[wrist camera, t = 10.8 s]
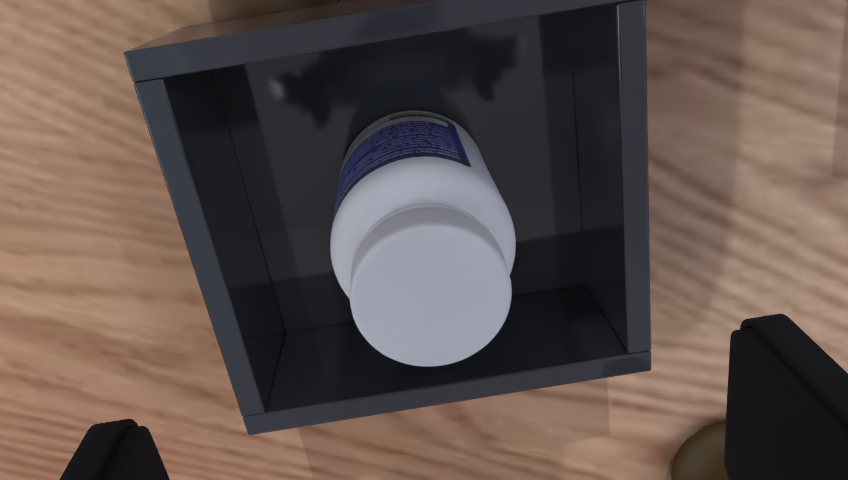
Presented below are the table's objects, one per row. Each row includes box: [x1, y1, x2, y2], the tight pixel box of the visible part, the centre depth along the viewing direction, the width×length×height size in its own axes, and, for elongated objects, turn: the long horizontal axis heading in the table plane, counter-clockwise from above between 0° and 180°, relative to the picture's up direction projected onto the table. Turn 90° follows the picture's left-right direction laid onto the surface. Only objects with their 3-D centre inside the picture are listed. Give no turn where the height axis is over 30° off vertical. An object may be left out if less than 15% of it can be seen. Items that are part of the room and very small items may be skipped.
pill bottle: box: [330, 111, 516, 367], centre depth 20 cm, size 5×5×9 cm
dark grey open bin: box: [124, 0, 651, 435], centre depth 22 cm, size 13×14×6 cm
